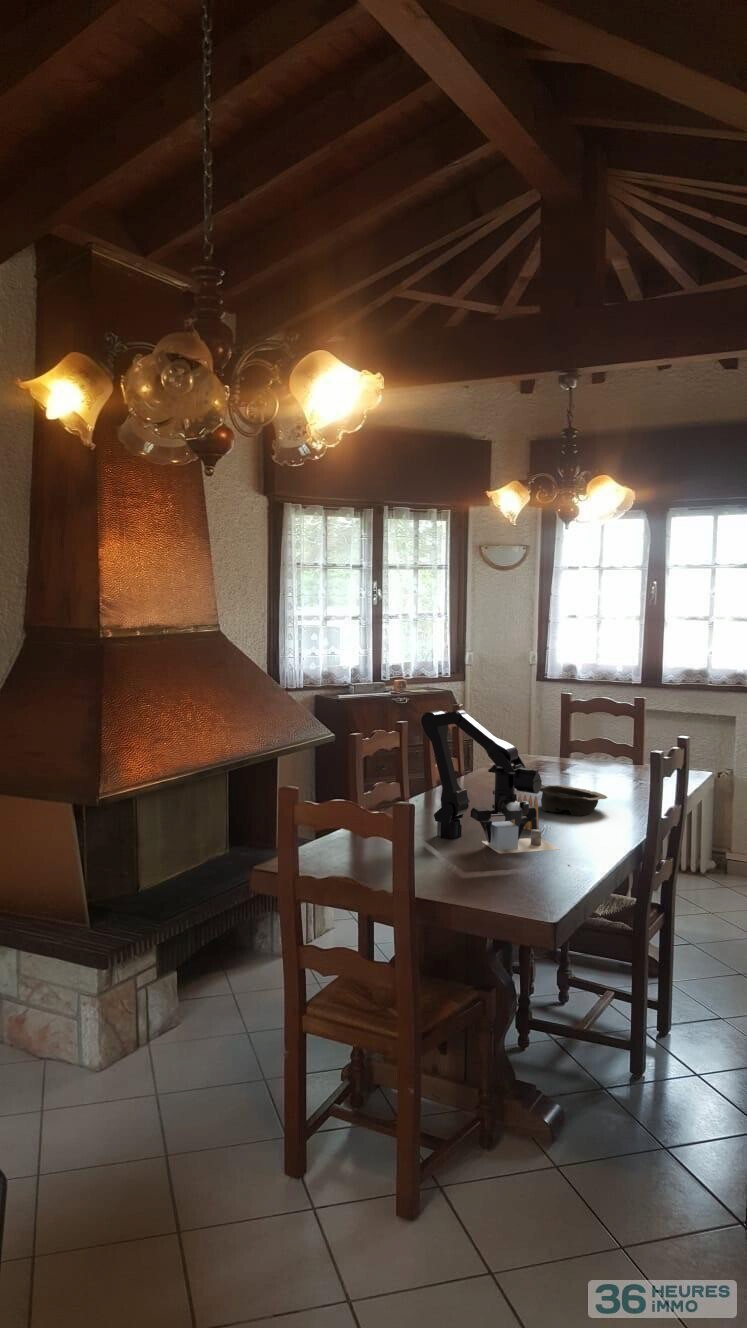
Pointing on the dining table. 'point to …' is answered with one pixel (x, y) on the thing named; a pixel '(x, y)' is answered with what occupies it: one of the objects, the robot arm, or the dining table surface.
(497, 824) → the pale grey cube
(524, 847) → the stub board
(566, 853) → the dining table surface
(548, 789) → the stone bowl
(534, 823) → the ammunition clip
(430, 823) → the dining table surface
